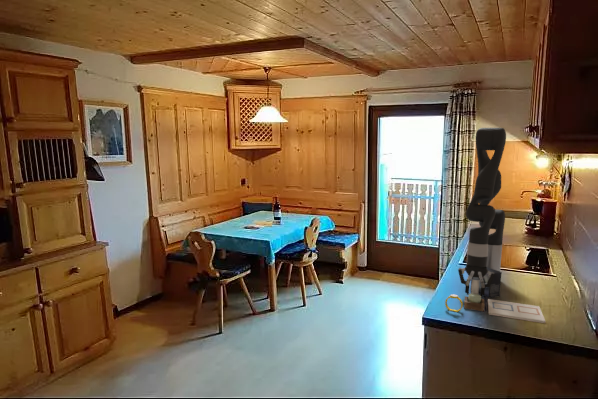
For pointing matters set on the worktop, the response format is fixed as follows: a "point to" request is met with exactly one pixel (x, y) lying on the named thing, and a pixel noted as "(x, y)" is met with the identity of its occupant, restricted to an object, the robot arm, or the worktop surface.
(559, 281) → the worktop surface
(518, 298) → the worktop surface
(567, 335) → the worktop surface
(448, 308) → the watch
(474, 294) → the button
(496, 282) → the small box
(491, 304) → the colouring board
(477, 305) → the button housing
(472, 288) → the marker
